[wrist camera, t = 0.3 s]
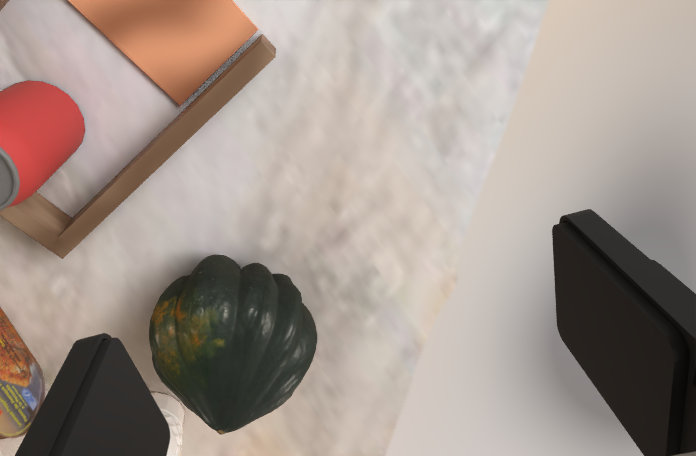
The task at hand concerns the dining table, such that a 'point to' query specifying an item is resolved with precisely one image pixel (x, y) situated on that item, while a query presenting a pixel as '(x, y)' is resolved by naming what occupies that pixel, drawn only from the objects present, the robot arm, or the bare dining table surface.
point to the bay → (172, 76)
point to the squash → (232, 341)
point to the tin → (17, 383)
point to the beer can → (34, 137)
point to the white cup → (172, 421)
